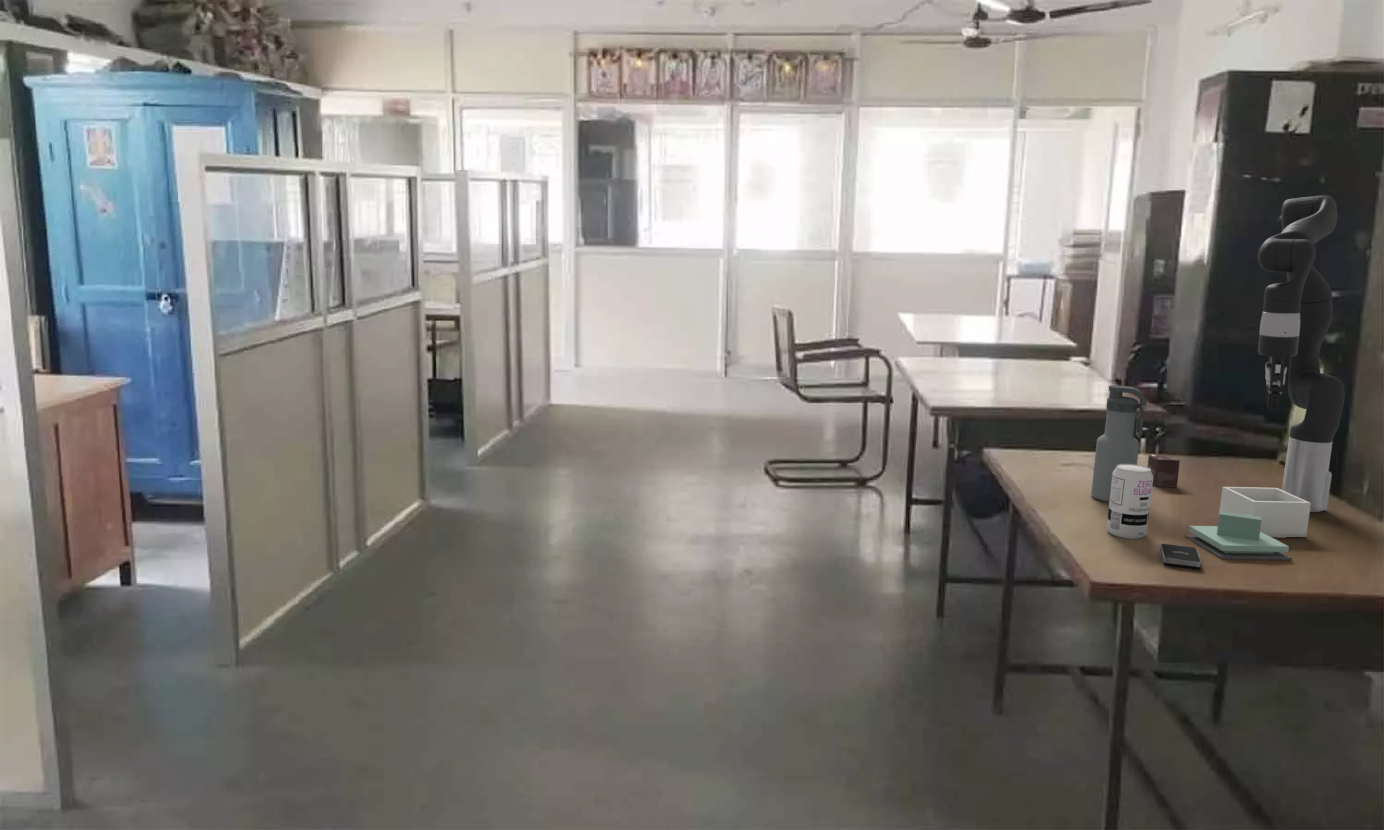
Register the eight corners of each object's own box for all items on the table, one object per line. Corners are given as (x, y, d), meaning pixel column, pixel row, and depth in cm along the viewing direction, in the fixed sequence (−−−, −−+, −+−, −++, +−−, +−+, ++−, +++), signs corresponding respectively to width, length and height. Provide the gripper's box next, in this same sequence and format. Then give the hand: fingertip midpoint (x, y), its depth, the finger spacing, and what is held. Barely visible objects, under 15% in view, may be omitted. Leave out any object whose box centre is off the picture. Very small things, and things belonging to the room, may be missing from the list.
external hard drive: (1195, 556, 226) (1196, 547, 226) (1200, 572, 216) (1201, 562, 215) (1159, 552, 228) (1160, 543, 228) (1162, 567, 218) (1164, 558, 218)
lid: (1249, 536, 239) (1253, 506, 238) (1287, 556, 225) (1291, 525, 224) (1188, 535, 238) (1191, 505, 237) (1221, 555, 224) (1226, 524, 223)
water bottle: (1132, 495, 273) (1144, 385, 268) (1136, 505, 264) (1149, 391, 258) (1089, 491, 275) (1100, 382, 270) (1092, 501, 266) (1104, 388, 261)
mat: (1251, 538, 239) (1251, 535, 239) (1291, 559, 225) (1291, 557, 225) (1184, 536, 239) (1185, 534, 239) (1220, 558, 224) (1220, 556, 224)
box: (1177, 487, 283) (1180, 460, 282) (1154, 486, 283) (1157, 459, 282) (1168, 481, 289) (1171, 454, 288) (1145, 481, 289) (1148, 454, 288)
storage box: (1272, 521, 254) (1277, 487, 252) (1305, 537, 241) (1310, 502, 240) (1218, 520, 253) (1222, 486, 252) (1248, 536, 240) (1253, 501, 239)
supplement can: (1113, 526, 245) (1120, 461, 242) (1151, 534, 240) (1159, 467, 237) (1100, 533, 239) (1108, 467, 236) (1139, 541, 234) (1147, 474, 231)
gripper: (1301, 337, 226) (1293, 414, 229) (1296, 330, 238) (1289, 402, 241) (1260, 336, 229) (1253, 412, 232) (1258, 328, 241) (1251, 400, 245)
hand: (1272, 407), depth 237 cm, fingers open, 8 cm apart
